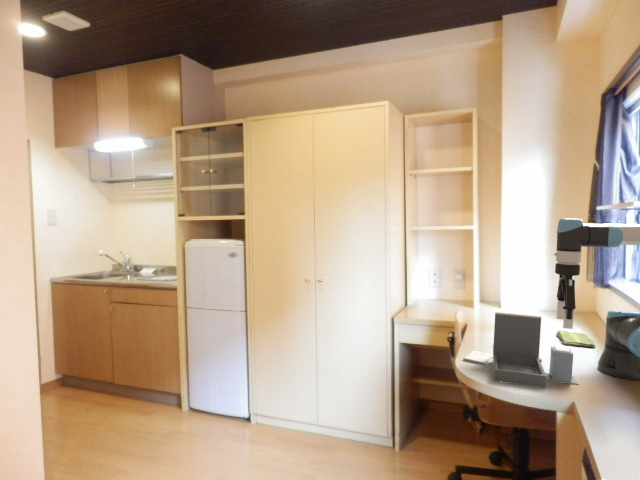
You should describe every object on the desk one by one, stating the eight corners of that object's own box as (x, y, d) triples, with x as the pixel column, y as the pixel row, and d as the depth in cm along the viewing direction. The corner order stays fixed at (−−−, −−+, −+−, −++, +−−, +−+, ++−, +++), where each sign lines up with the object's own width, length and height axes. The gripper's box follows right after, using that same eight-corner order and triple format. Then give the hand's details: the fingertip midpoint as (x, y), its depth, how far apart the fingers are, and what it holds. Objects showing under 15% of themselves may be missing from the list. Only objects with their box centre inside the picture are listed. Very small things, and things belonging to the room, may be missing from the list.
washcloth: (563, 346, 199) (563, 339, 198) (555, 335, 215) (555, 329, 215) (597, 349, 195) (597, 342, 194) (586, 338, 212) (586, 332, 211)
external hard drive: (463, 362, 176) (473, 353, 186) (484, 366, 171) (493, 358, 181) (463, 357, 176) (473, 349, 186) (484, 362, 171) (493, 354, 181)
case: (540, 367, 170) (543, 316, 168) (548, 388, 150) (551, 330, 148) (492, 361, 175) (495, 311, 174) (494, 380, 156) (497, 325, 154)
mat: (574, 377, 160) (574, 376, 160) (578, 384, 154) (578, 383, 154) (543, 373, 164) (543, 372, 164) (545, 380, 157) (545, 379, 157)
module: (568, 376, 160) (570, 347, 160) (571, 382, 155) (573, 352, 154) (549, 373, 162) (551, 345, 162) (551, 379, 157) (553, 350, 156)
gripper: (550, 258, 168) (547, 314, 170) (561, 266, 145) (558, 331, 147) (572, 259, 166) (569, 316, 168) (588, 268, 142) (584, 333, 144)
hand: (564, 323), depth 157 cm, fingers open, 13 cm apart
